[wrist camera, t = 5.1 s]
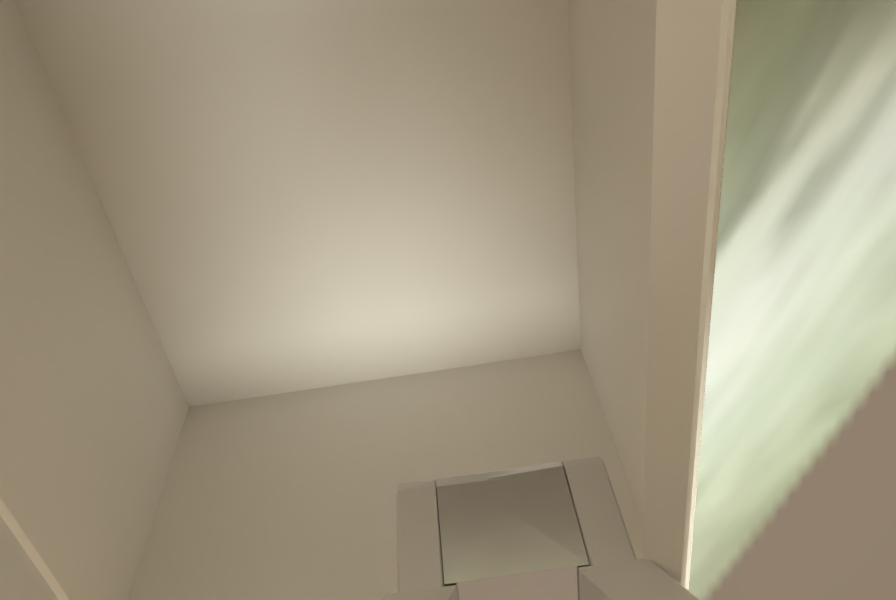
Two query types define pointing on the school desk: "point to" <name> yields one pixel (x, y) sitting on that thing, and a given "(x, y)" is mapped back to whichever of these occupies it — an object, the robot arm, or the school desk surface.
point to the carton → (313, 276)
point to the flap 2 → (680, 261)
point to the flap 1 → (19, 571)
